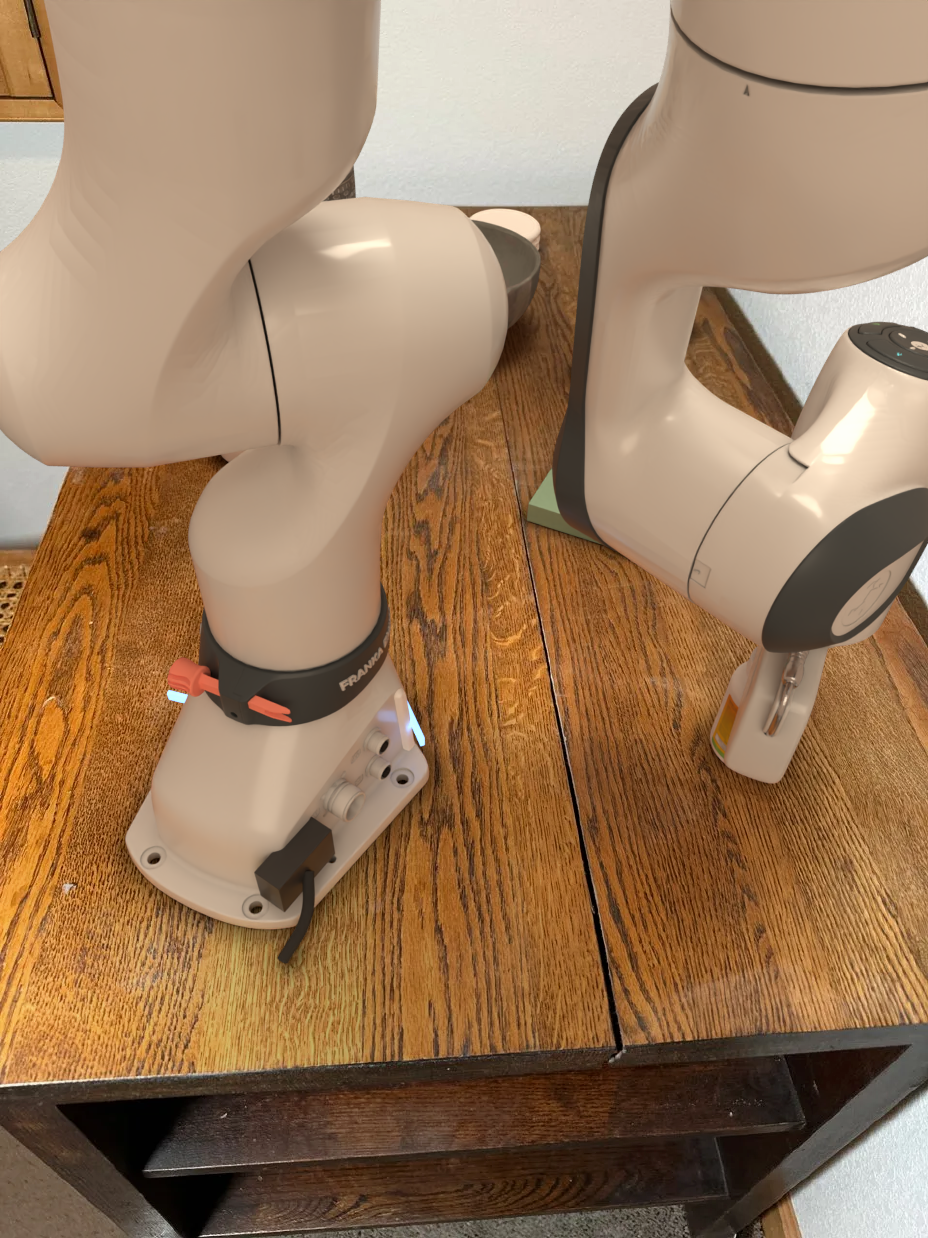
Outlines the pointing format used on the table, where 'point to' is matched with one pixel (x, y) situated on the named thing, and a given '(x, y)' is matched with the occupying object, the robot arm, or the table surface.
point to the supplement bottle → (729, 708)
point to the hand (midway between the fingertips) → (760, 712)
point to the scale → (550, 510)
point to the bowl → (514, 266)
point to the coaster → (512, 222)
